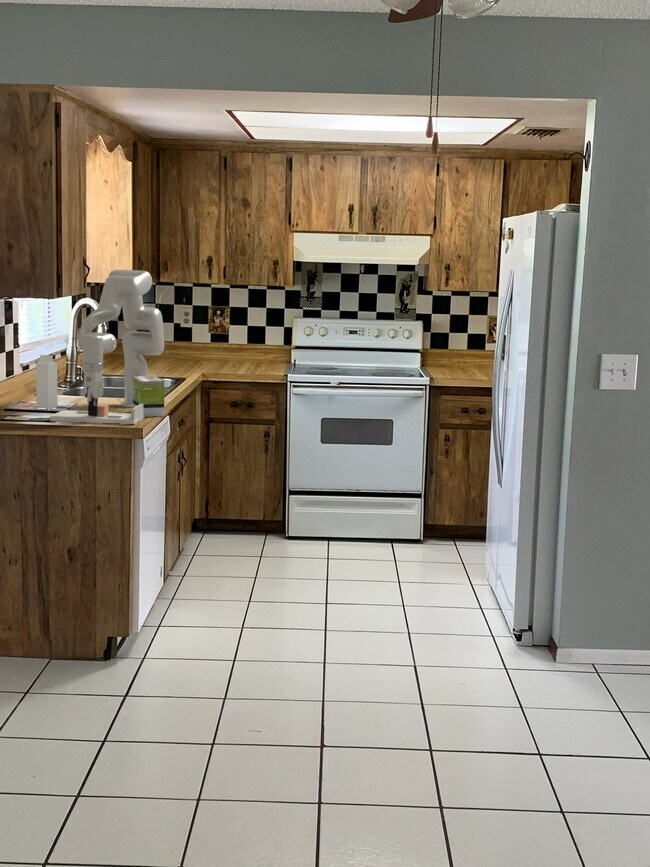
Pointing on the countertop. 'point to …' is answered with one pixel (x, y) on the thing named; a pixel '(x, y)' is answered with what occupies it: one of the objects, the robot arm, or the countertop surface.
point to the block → (102, 410)
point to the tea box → (149, 395)
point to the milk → (46, 382)
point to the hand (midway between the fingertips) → (92, 415)
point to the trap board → (111, 418)
